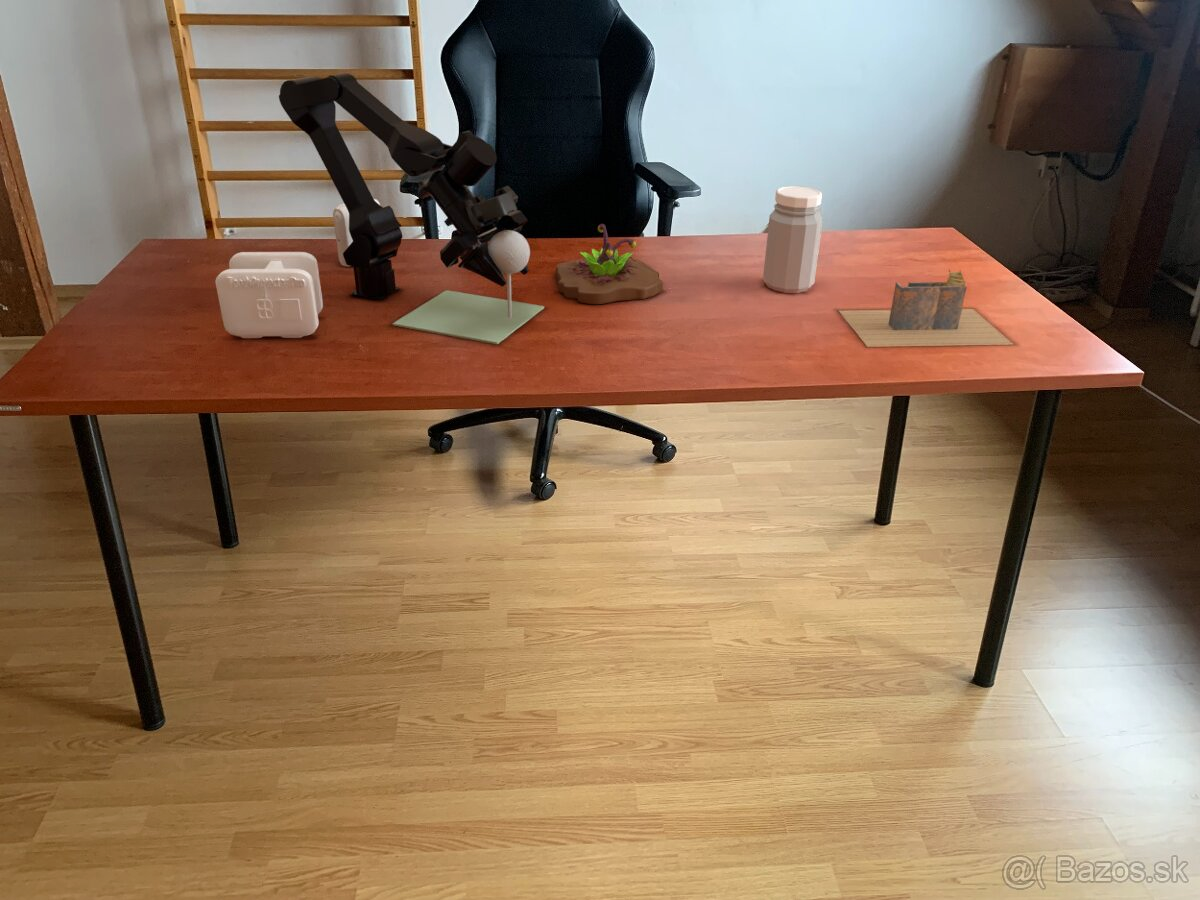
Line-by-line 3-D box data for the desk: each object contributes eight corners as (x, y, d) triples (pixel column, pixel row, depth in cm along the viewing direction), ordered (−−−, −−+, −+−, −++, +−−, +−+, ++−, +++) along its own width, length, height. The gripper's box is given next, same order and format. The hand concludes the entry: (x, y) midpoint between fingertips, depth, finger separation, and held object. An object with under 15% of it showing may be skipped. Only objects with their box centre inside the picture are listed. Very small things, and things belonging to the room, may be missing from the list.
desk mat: (392, 325, 160) (392, 323, 159) (446, 292, 174) (446, 289, 174) (497, 344, 153) (497, 342, 153) (544, 308, 168) (544, 306, 168)
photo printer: (349, 268, 185) (341, 206, 178) (335, 264, 187) (327, 202, 181) (390, 256, 192) (384, 195, 186) (376, 252, 194) (370, 192, 188)
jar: (810, 297, 175) (822, 200, 166) (757, 290, 177) (767, 195, 168) (816, 280, 183) (829, 187, 174) (767, 274, 185) (776, 182, 176)
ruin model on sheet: (972, 308, 171) (984, 256, 166) (1013, 344, 157) (1027, 288, 152) (838, 310, 169) (846, 258, 164) (867, 346, 155) (876, 290, 150)
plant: (637, 264, 190) (639, 209, 184) (674, 296, 174) (677, 237, 168) (541, 273, 184) (540, 216, 179) (570, 307, 168) (570, 246, 162)
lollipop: (527, 308, 164) (526, 223, 157) (533, 323, 158) (533, 236, 151) (486, 310, 163) (483, 225, 155) (491, 326, 157) (489, 238, 149)
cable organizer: (330, 316, 163) (321, 251, 157) (317, 340, 153) (308, 272, 148) (241, 317, 162) (229, 251, 156) (224, 341, 153) (210, 272, 147)
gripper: (451, 185, 143) (513, 267, 144) (516, 161, 158) (573, 237, 159) (413, 227, 150) (473, 306, 151) (479, 201, 165) (534, 273, 166)
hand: (515, 279), depth 157 cm, fingers closed on lollipop, 6 cm apart
